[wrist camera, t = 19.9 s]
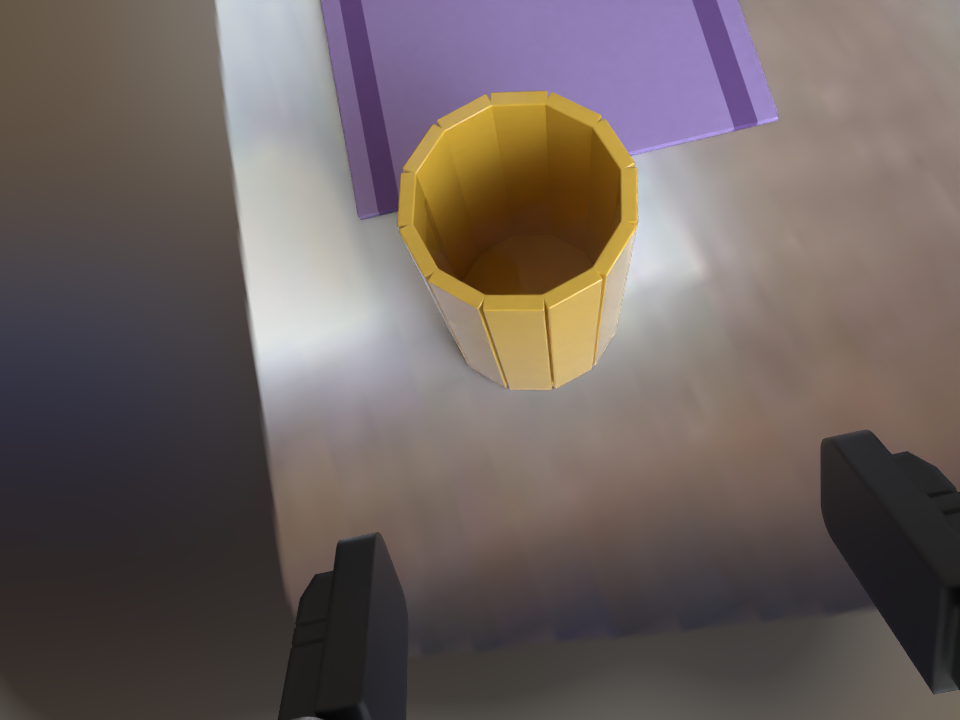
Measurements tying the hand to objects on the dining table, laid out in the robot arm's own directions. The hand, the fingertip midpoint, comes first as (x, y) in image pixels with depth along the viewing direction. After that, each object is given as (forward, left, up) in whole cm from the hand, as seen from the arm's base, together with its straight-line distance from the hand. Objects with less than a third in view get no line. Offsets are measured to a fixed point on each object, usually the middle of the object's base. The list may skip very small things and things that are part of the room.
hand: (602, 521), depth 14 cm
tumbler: (-7, -6, -14) cm, 17 cm away
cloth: (-16, -12, -14) cm, 25 cm away
